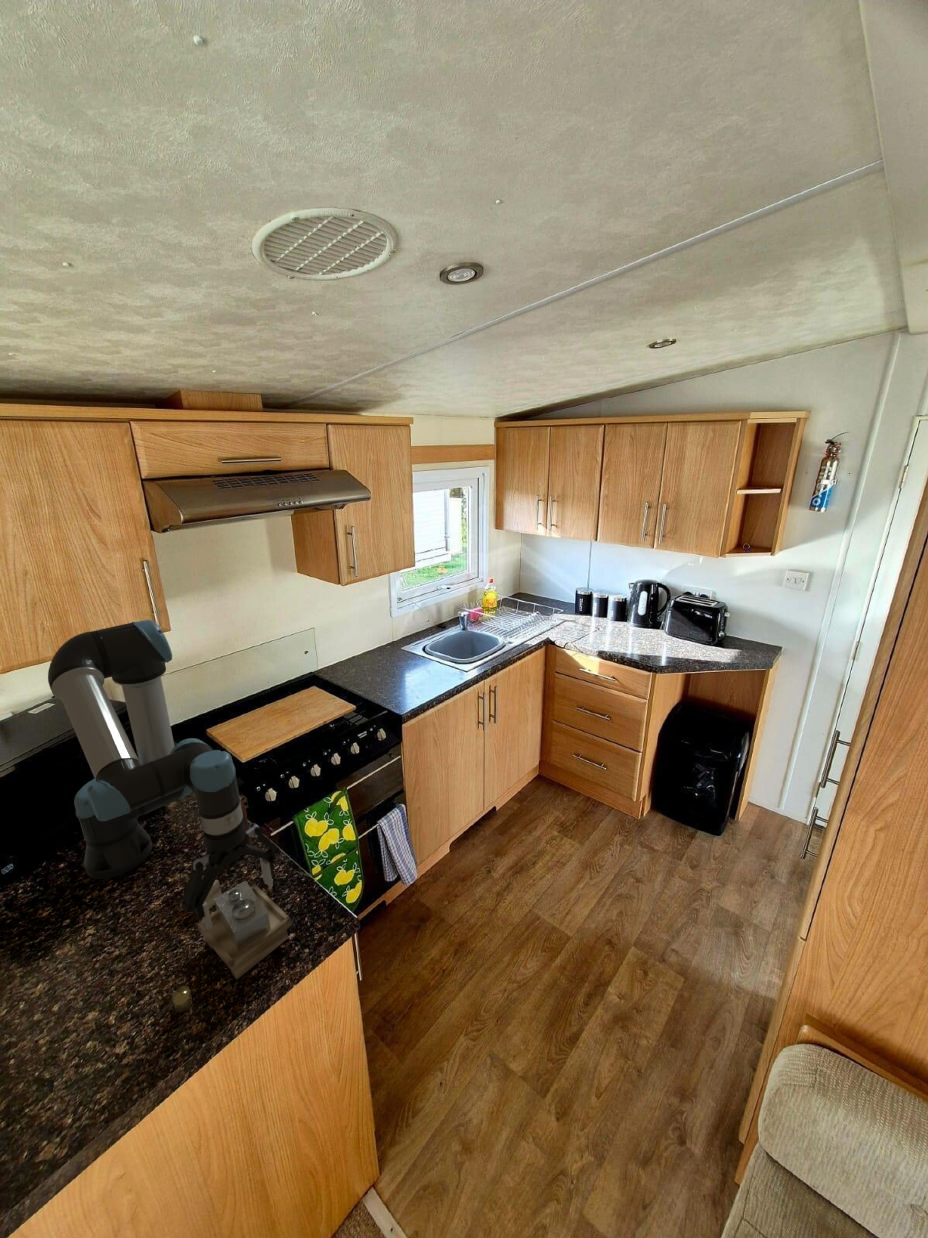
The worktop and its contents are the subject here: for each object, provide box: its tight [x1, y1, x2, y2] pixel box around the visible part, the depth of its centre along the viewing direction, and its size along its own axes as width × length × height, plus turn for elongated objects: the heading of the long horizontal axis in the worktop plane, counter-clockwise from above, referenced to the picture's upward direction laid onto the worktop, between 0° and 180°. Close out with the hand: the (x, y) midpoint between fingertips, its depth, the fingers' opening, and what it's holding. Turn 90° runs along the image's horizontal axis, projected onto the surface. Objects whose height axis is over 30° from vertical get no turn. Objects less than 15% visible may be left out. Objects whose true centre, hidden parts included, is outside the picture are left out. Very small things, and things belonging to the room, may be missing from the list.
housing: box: [214, 880, 271, 952], centre depth 110 cm, size 12×7×6 cm, turn 44°
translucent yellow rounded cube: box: [171, 985, 193, 1014], centre depth 99 cm, size 3×3×3 cm
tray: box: [196, 883, 293, 981], centre depth 111 cm, size 15×14×6 cm
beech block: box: [202, 877, 223, 910], centre depth 121 cm, size 5×5×5 cm
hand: (239, 903), depth 109 cm, fingers open, 13 cm apart
